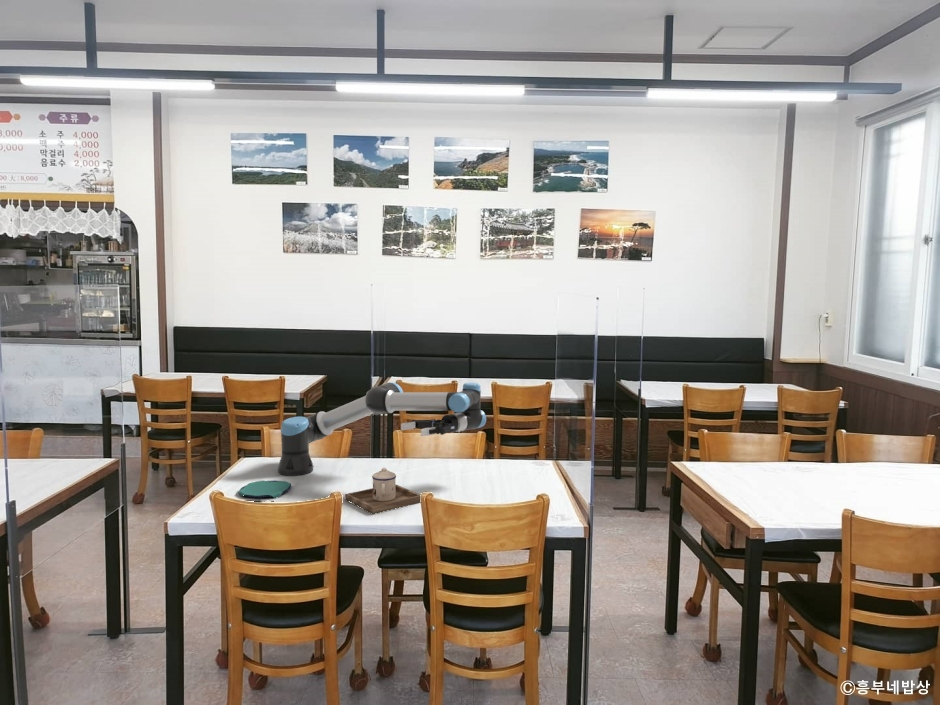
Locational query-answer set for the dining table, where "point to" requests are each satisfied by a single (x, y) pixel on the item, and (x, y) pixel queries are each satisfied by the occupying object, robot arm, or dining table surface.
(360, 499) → the walnut tray
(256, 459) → the dining table surface
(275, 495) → the green cloth
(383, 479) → the teacup with lid
